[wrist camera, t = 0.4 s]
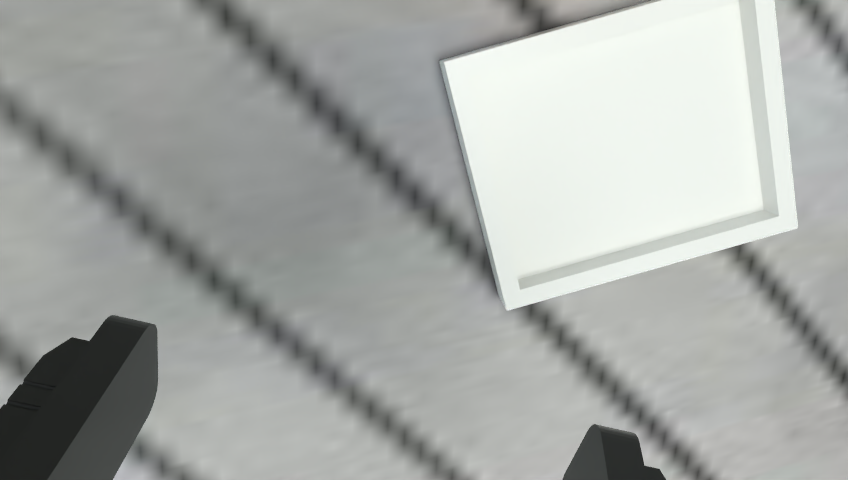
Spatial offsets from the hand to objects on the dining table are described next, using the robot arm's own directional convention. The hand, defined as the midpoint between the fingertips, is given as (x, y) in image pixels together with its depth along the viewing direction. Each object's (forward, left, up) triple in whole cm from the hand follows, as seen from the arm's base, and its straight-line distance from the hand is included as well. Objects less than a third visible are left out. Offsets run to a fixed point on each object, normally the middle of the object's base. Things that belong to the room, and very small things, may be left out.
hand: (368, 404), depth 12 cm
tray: (+3, +14, -26) cm, 30 cm away
